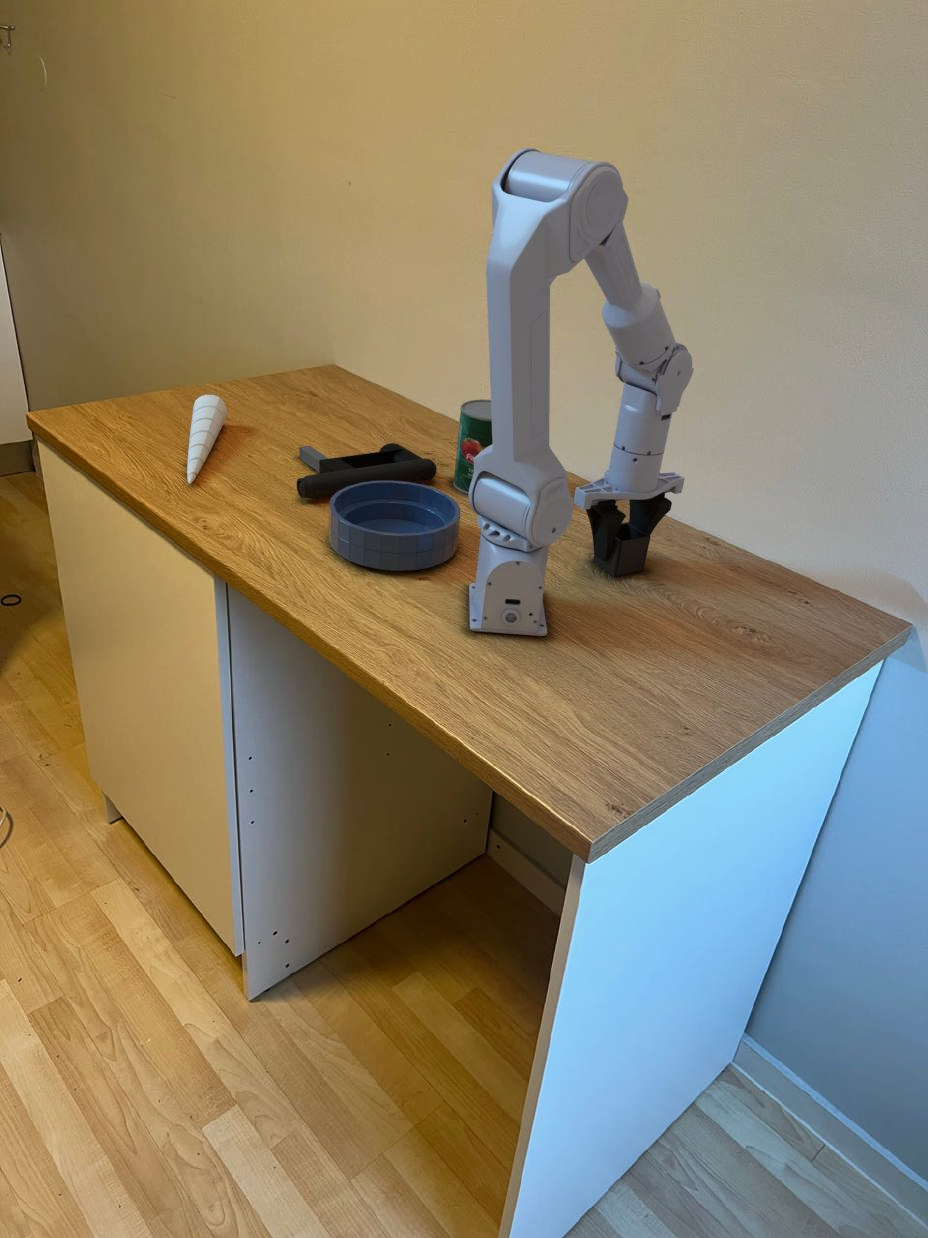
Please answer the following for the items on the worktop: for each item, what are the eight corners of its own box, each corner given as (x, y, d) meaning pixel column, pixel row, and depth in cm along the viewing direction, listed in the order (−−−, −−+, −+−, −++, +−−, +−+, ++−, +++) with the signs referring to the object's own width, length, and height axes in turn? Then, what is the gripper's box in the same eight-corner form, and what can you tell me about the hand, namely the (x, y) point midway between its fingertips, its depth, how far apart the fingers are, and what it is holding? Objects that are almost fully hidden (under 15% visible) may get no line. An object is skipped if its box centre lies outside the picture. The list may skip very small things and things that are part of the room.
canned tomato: (467, 500, 124) (475, 420, 119) (444, 477, 130) (450, 400, 125) (520, 494, 127) (530, 417, 122) (495, 472, 133) (503, 397, 128)
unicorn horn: (159, 485, 119) (156, 449, 117) (196, 423, 140) (194, 391, 137) (197, 488, 120) (195, 452, 117) (228, 425, 140) (227, 394, 138)
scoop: (643, 571, 111) (650, 536, 109) (614, 577, 109) (621, 542, 107) (602, 542, 117) (608, 509, 114) (574, 548, 115) (580, 514, 112)
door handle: (259, 446, 127) (308, 483, 116) (388, 430, 137) (445, 463, 126) (260, 469, 129) (308, 508, 117) (387, 452, 139) (444, 486, 127)
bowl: (456, 580, 105) (460, 540, 102) (321, 569, 104) (321, 529, 102) (457, 522, 118) (460, 485, 115) (336, 512, 117) (337, 475, 115)
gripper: (664, 427, 110) (643, 530, 117) (565, 440, 104) (548, 549, 111) (705, 448, 105) (680, 555, 112) (604, 463, 99) (584, 576, 106)
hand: (617, 554), depth 111 cm, fingers closed on scoop, 4 cm apart
